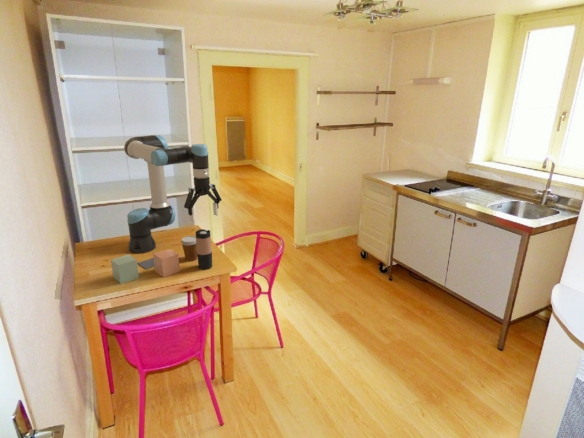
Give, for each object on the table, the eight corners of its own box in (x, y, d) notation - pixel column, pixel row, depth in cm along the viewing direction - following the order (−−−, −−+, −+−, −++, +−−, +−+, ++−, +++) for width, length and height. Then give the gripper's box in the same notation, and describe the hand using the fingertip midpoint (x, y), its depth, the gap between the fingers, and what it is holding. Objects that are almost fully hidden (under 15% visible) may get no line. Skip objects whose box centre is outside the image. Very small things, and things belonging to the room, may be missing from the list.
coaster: (137, 263, 201) (137, 262, 201) (155, 258, 208) (155, 257, 207) (145, 269, 194) (145, 268, 194) (163, 263, 201) (163, 262, 201)
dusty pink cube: (155, 271, 192) (153, 253, 189) (171, 266, 198) (169, 248, 195) (163, 277, 186) (161, 259, 183) (179, 271, 192) (178, 253, 189)
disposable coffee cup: (195, 263, 202) (193, 242, 198) (179, 261, 204) (177, 241, 200) (203, 256, 211) (201, 236, 207) (187, 254, 212) (185, 235, 208)
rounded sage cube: (113, 277, 185) (110, 259, 182) (131, 271, 191) (128, 254, 188) (120, 284, 179) (118, 265, 176) (139, 277, 185) (136, 259, 182)
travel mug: (200, 271, 193) (197, 235, 186) (196, 265, 199) (193, 230, 193) (214, 268, 196) (212, 232, 190) (210, 262, 203) (208, 228, 196)
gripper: (182, 182, 170) (186, 225, 177) (227, 174, 187) (229, 214, 193) (174, 179, 175) (178, 221, 182) (218, 171, 192) (220, 211, 198)
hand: (204, 218), depth 188 cm, fingers open, 13 cm apart
